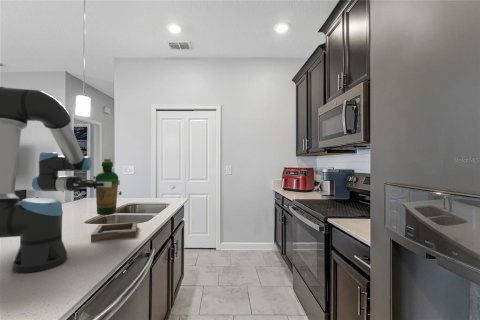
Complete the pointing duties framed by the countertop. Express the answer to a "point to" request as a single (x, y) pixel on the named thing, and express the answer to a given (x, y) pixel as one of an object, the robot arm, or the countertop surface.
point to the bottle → (107, 190)
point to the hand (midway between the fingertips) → (115, 183)
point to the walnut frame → (114, 231)
